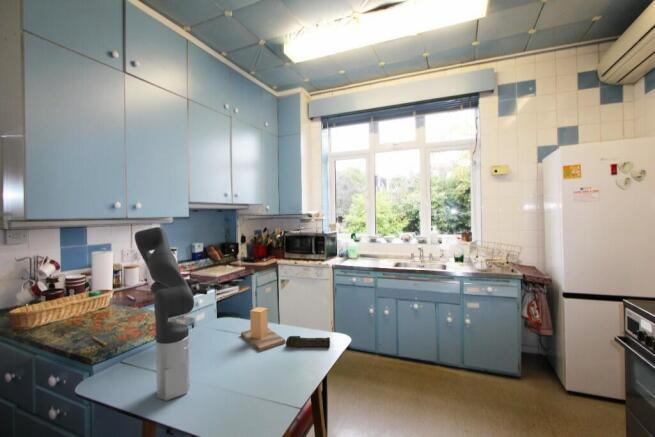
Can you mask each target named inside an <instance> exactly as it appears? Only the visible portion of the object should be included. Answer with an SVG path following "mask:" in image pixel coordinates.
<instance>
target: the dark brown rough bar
mask: <svg viewBox="0 0 655 437" xmlns="http://www.w3.org/2000/svg"><path fill="white" fill-rule="evenodd" d="M330 345H331V337H330V336H329V337H301V335H289V336H288V337H287V338H286V340H285V346H286V347H288V348H298V349H299V348H300V347H321V348H322V347H323V348H324V347H327V348H328V349H330Z"/></svg>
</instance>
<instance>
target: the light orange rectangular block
mask: <svg viewBox="0 0 655 437" xmlns="http://www.w3.org/2000/svg"><path fill="white" fill-rule="evenodd" d="M249 313H250V316H249V317H250V322H249V323H250V330H251V338H257V339H262V338H263V337H265V336H266V335H267V334H268V329H269V327H268V308H267V307H260V306H256V307H255V308H253V309H251V310H250V312H249Z"/></svg>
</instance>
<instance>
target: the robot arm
mask: <svg viewBox="0 0 655 437" xmlns="http://www.w3.org/2000/svg"><path fill="white" fill-rule="evenodd" d="M134 243H135V244H136V247H137V250H138V252H139V254H140V256H141V258H142V259H143V261H144V263H145V264H146V266H147V269H148V272H149V275H150V279H151V280H152V281H154V282H153V283H152V284H151V285H150V289H149V290H150V292H151V293H152V294H153V295H154V297H153V308H154V318H155V321H154V322H155V359H156V360H155V364H156V365H155V368H156V369H155V371H156V373H155V374H156V396H157V398H158V399H160V400H164V401H165V402H167V401H171V400H173V399H175V398H178V397H182V396H183V395H186V394H188V390H189V388H190V351H189V350H190V346H189V344H190V341H189V340H190V338H189V333H190V332H189V331H190V330H189V327H188V325H187V324H185V323H180V322H179V323H178V322H173V321H169V319H170V318H174V317H179V316H184V315H187V314H189V313H191V312H192V311H193V309H194V306H195V298H194V296H196V295H208V291H209V292H210V291H211V290H218V291H219V290H220V291H221V290H222V284H218V282H213V281H212V282H211V281H207V282H206V283H205V282H200V281H199V280H198V279H196V278H195V279H194V278H185V277H184V276H183V274H182V272H181V270H180V267H179V265H178V262H177V259H176V257H175V255H174V253H173V252H172V249H171V247H170V244H169V241H168V238H167V235H166V232H165V230H164V229H163V228H161V227H160V226H156V227H155V226H154V227H150V228H148V229H147V228H146V229H142V230H138V231H136V232H135V233H134ZM151 251H152V252H151Z"/></svg>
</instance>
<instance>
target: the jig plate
mask: <svg viewBox="0 0 655 437" xmlns="http://www.w3.org/2000/svg"><path fill="white" fill-rule="evenodd" d="M240 336H241V337H242V338H244V340H246V341H247V343H249V344H250V345H252V346H253V347H254V348H255V349H256V350H258V351H259V352H262V351H266V350H268V349H271V348H274V347H278V346H280V345H283V344H286V339H285V338H284V337H282V336H281V335H279V334H278V333H276V332H275V331H273V330H271V329H270V328H268V334H267V335H266V336H265V337H263V338H262V339H257V338H251V329H248V330H245V331H241V332H240Z"/></svg>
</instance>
